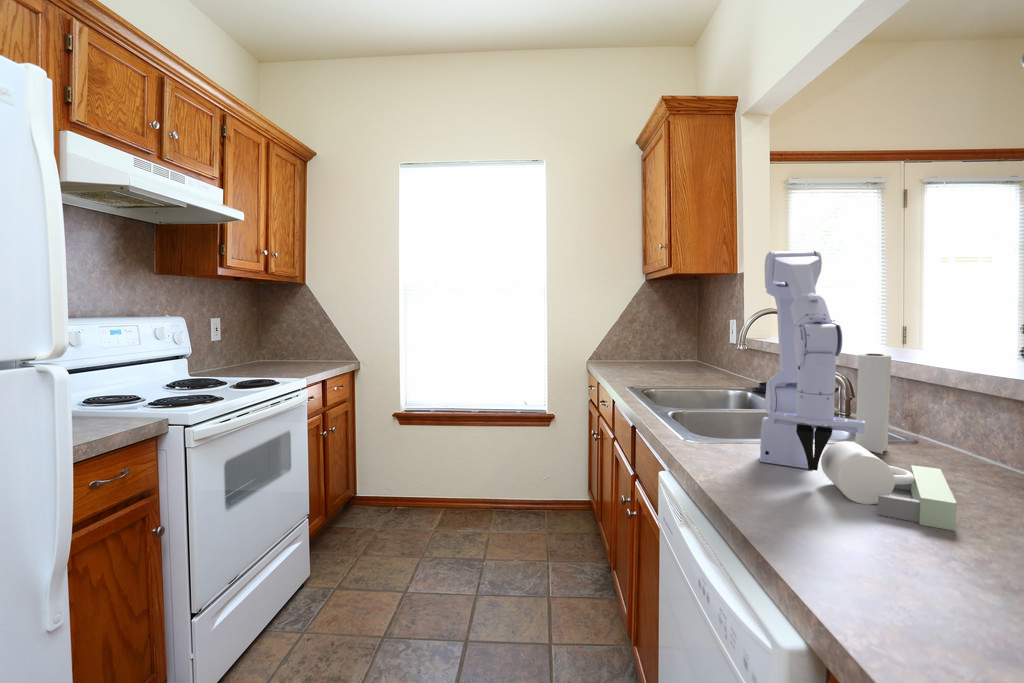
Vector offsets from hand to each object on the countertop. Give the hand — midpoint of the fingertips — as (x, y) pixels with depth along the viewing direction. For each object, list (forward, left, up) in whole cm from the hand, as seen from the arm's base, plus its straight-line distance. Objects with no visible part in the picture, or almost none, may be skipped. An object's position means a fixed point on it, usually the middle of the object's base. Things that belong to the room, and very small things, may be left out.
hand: (813, 468), depth 91 cm
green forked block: (+14, 0, -3) cm, 15 cm away
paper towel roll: (+9, +36, -4) cm, 37 cm away
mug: (+8, +1, -4) cm, 9 cm away
